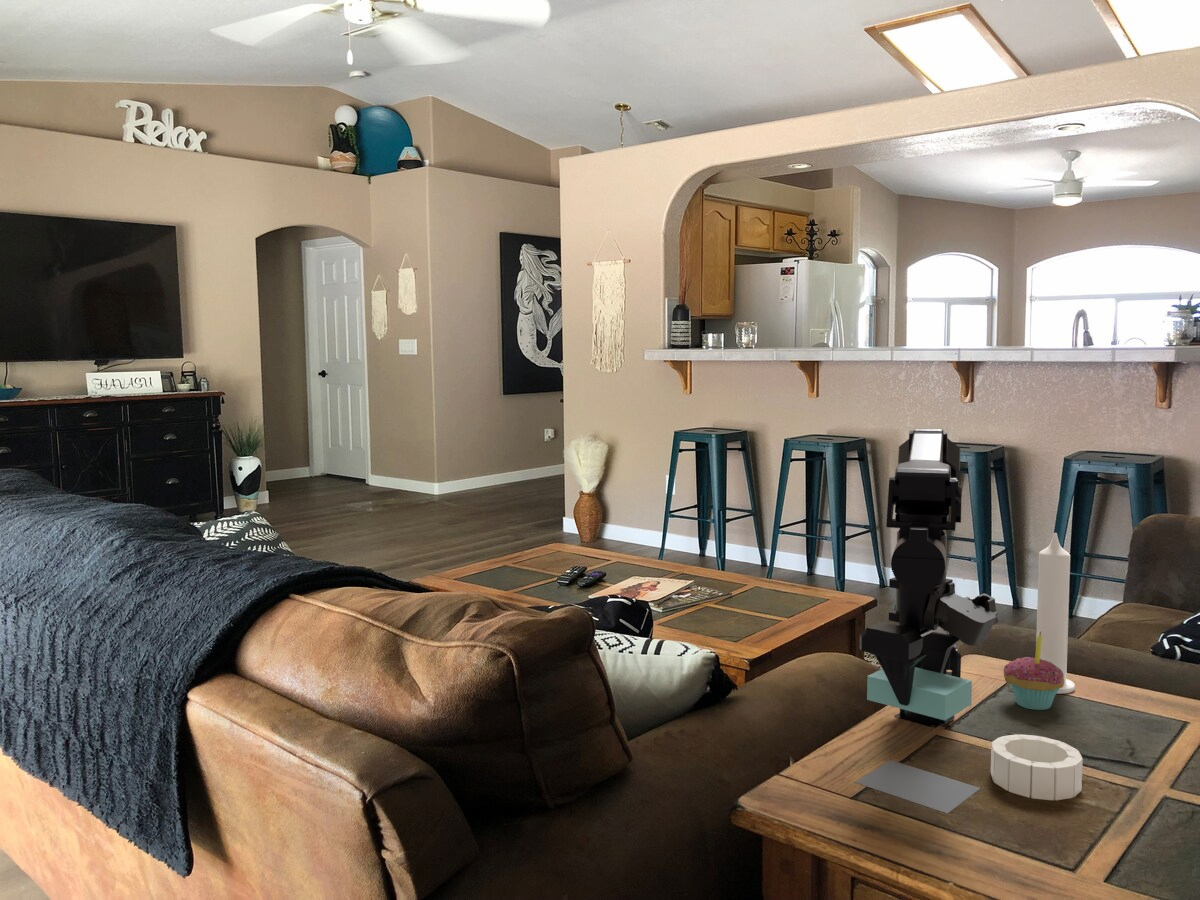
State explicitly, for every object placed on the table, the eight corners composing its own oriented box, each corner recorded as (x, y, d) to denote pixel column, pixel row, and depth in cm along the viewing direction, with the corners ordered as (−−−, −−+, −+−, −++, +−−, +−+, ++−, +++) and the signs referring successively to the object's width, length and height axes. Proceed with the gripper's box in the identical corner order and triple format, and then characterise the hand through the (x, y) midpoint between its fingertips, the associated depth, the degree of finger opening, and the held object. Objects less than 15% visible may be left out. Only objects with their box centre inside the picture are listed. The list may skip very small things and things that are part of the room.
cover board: (867, 699, 118) (867, 675, 118) (895, 685, 123) (895, 662, 122) (945, 720, 111) (945, 695, 111) (971, 704, 116) (971, 680, 115)
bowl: (977, 786, 119) (978, 751, 118) (1010, 761, 126) (1011, 728, 125) (1062, 812, 112) (1063, 775, 111) (1092, 784, 119) (1093, 749, 118)
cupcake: (1073, 714, 142) (1076, 635, 140) (1016, 715, 142) (1018, 636, 141) (1047, 694, 150) (1050, 619, 149) (993, 694, 150) (995, 620, 149)
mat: (854, 786, 119) (854, 781, 119) (890, 764, 125) (890, 759, 125) (947, 818, 110) (947, 813, 110) (980, 792, 117) (980, 788, 117)
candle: (1074, 682, 155) (1079, 530, 153) (1075, 696, 149) (1081, 538, 147) (1026, 676, 158) (1031, 527, 156) (1025, 690, 152) (1030, 535, 150)
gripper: (950, 596, 103) (947, 736, 104) (1019, 568, 116) (1016, 693, 118) (857, 580, 111) (856, 711, 112) (932, 555, 124) (930, 673, 125)
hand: (918, 696), depth 117 cm, fingers closed on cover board, 7 cm apart
